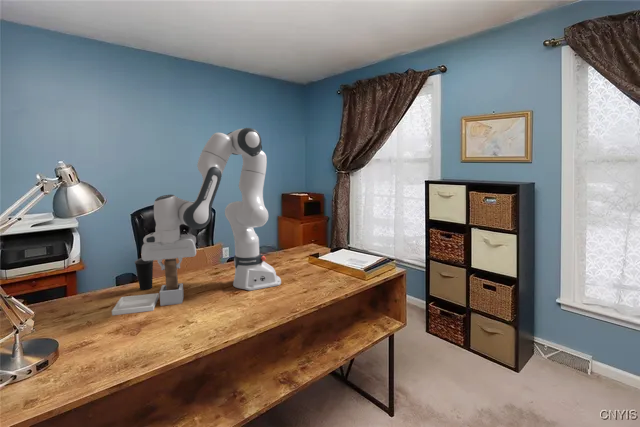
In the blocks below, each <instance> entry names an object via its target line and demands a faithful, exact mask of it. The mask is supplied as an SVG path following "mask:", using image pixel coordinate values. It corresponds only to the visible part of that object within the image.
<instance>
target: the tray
mask: <svg viewBox="0 0 640 427" xmlns="http://www.w3.org/2000/svg"><path fill="white" fill-rule="evenodd" d="M159 299H160V293H158V292H157V293H156V292H155V293H148V294H138V295H137V294H136V295H128V296H121V297H120V298H119V300H118V301H117V302H116V304H115V306H114V307H113V308H112V310H111V315H112V316H117V315H118V316H119V315H128V314H129V315H130V314H136V313H137V314H138V313H144V312H153V311H154V310H155V308H156V305H157V303H158V300H159Z"/></svg>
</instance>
